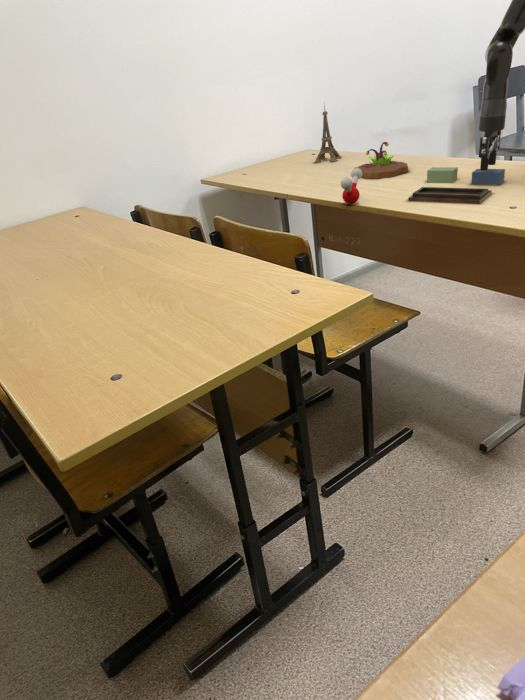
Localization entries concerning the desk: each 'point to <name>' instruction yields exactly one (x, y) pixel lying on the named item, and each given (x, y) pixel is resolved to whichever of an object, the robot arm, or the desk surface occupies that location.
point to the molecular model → (351, 187)
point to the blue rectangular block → (488, 177)
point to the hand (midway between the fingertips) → (487, 167)
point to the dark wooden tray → (450, 195)
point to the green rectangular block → (442, 174)
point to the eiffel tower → (330, 148)
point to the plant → (382, 166)
